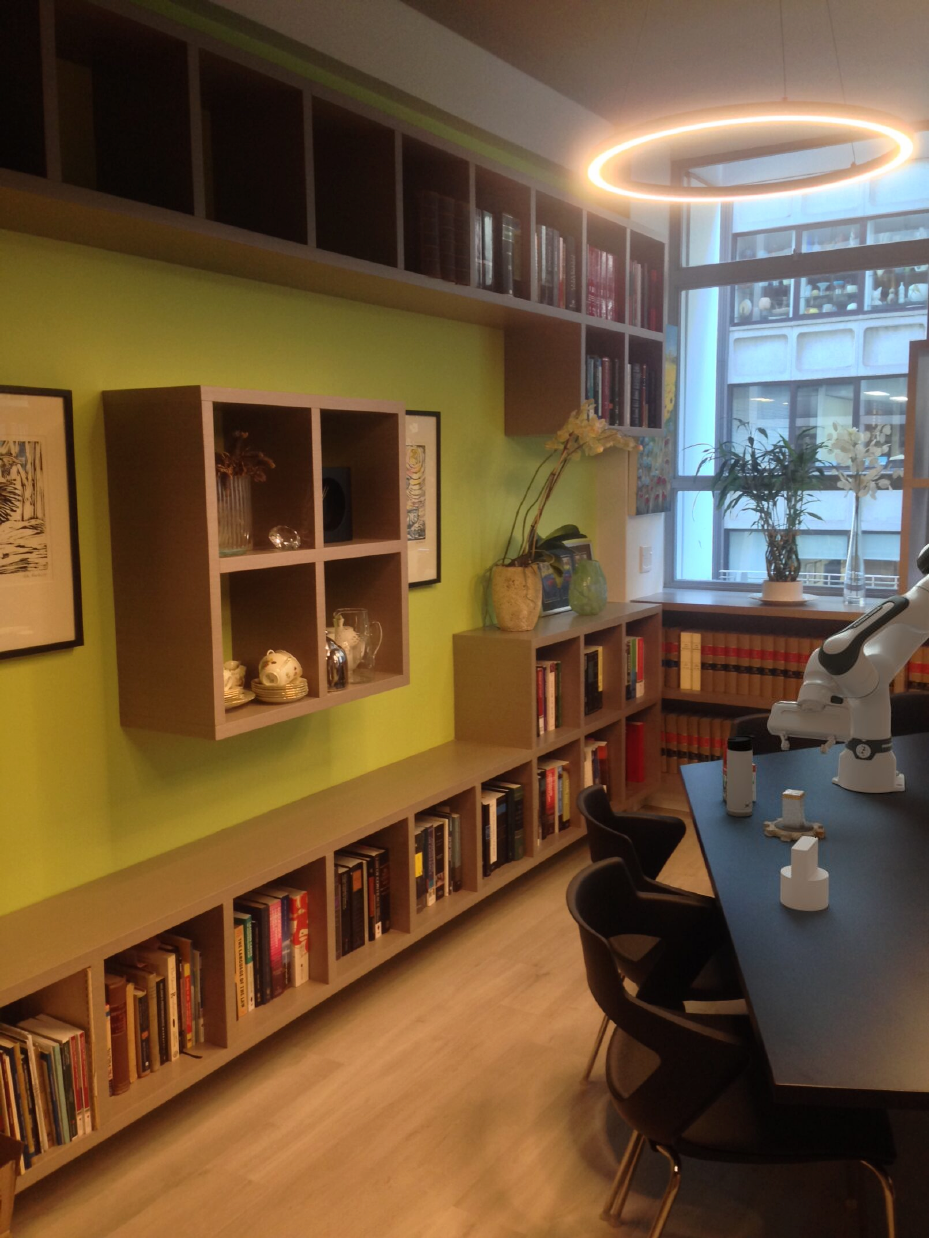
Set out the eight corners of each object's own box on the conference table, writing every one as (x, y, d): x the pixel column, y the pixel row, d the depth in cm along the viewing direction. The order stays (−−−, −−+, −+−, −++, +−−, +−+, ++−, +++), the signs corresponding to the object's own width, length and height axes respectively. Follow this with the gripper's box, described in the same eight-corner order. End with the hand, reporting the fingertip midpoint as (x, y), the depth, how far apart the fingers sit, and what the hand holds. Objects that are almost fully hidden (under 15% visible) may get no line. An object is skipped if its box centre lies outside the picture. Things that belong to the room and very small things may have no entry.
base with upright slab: (822, 914, 202) (822, 853, 201) (774, 905, 207) (775, 846, 206) (833, 898, 210) (834, 839, 208) (787, 890, 215) (787, 833, 213)
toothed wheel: (773, 820, 260) (773, 813, 260) (831, 828, 253) (831, 821, 253) (755, 836, 249) (755, 828, 249) (815, 845, 241) (816, 837, 241)
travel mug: (754, 817, 263) (755, 738, 261) (727, 816, 265) (727, 738, 262) (753, 810, 269) (753, 733, 267) (726, 809, 271) (726, 732, 269)
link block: (787, 821, 254) (787, 789, 253) (804, 824, 251) (804, 791, 250) (782, 826, 250) (782, 793, 249) (799, 828, 248) (799, 795, 247)
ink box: (756, 801, 277) (756, 746, 275) (727, 803, 276) (727, 748, 274) (750, 797, 281) (751, 743, 279) (722, 799, 280) (722, 745, 278)
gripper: (771, 693, 267) (758, 739, 260) (855, 700, 256) (844, 748, 249) (776, 707, 271) (764, 753, 264) (859, 714, 260) (848, 762, 253)
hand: (803, 750), depth 256 cm, fingers open, 8 cm apart
